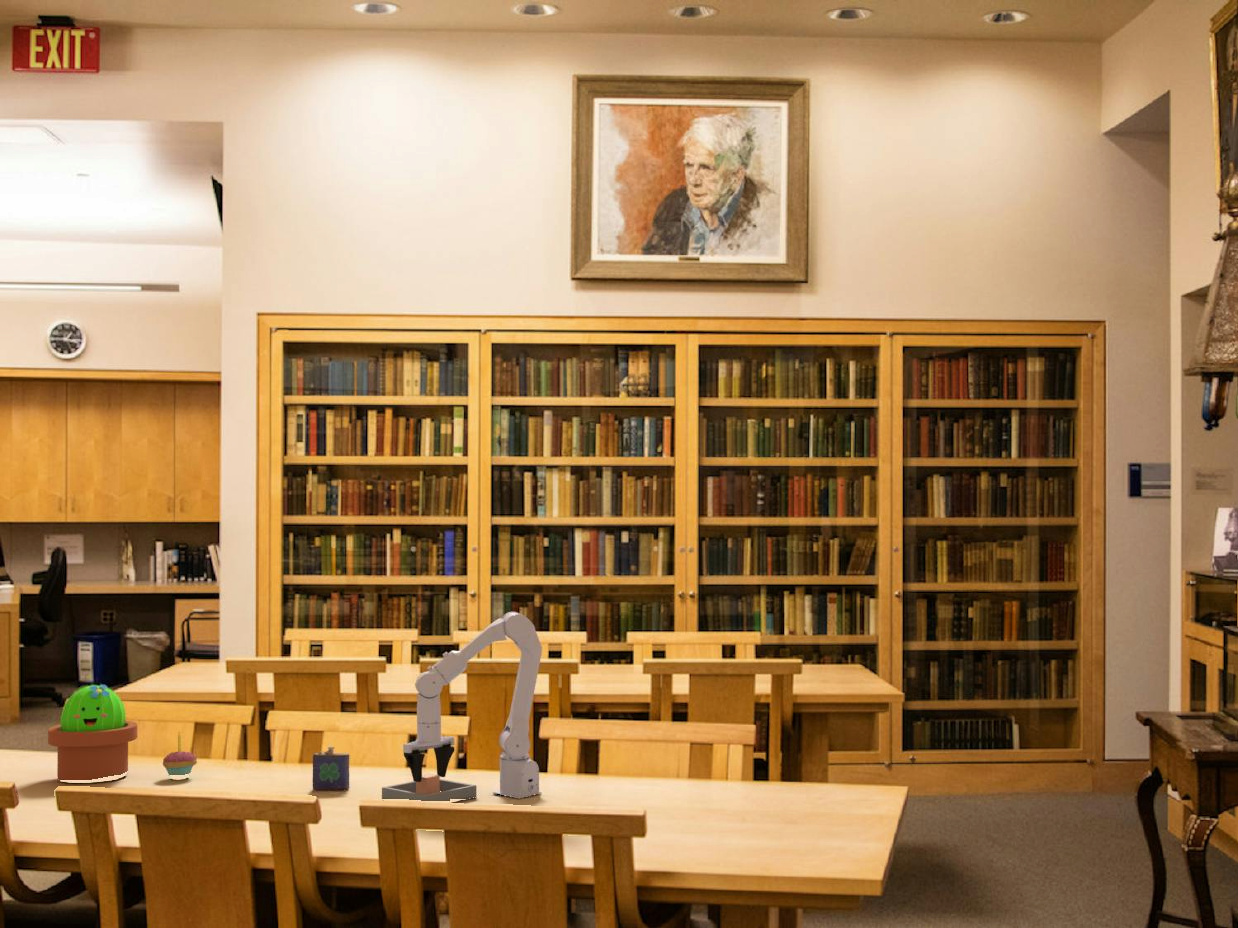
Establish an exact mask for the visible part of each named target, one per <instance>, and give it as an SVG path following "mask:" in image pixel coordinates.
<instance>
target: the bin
mask: <svg viewBox="0 0 1238 928" xmlns="http://www.w3.org/2000/svg"><path fill="white" fill-rule="evenodd" d="M440 791H441V792H437V793H432V794H427V795H425V794H420V793H416V782H415V781H407V782H403V783H398V784H393V785H387V786H382V787H381V800H382V799H409V800H421V801H450V799H469V798H473V797H476V798H477V785H476V784H472V783H465V782H460V781H455V780H447V779H442V778H440ZM469 800H470V799H469Z"/></svg>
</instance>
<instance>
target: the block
mask: <svg viewBox="0 0 1238 928" xmlns="http://www.w3.org/2000/svg"><path fill="white" fill-rule="evenodd" d="M440 779H441V777H440V775H437V774H433V773H425V774H424V773H423V774H422V780H421V782H416V793H420V794H425V795H427V794H432V793H437V792H440Z"/></svg>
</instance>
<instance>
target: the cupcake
mask: <svg viewBox="0 0 1238 928" xmlns="http://www.w3.org/2000/svg"><path fill="white" fill-rule="evenodd" d="M180 733H181V732H180V731H178V735H177V751H175V752H173V751H172V752H171V753H168V754H167V755H166V756H165V757H164V758H163V759H162V760H163V762H162V766H163V767H164V768H165V770H166V773H167V774H169V775H185V774H189V773H190V774H191V772H192V769H193V767H194V766H195V765H197V763H198V761H197V760H198V759H197V758H198V757H196V756H195V755H194V754H193V753H192V752H189V751H182V743H181V742H182V741H181V738H182V737H181V735H182V734H180ZM169 775H168V776H169Z"/></svg>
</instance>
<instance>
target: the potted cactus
mask: <svg viewBox="0 0 1238 928" xmlns="http://www.w3.org/2000/svg"><path fill="white" fill-rule="evenodd" d="M61 709H62V712H61V715H60V722H59V724H57V725H53V726H51V727H49V728H48V730H47V744H48V745H49V746H53V747H57V770H56V771H57V777H58V778H57V780H58V779H59V780H92V779H98V778H103V777H108V776H114V775H121V774H123V773H125V772H127V771H128V772H129V743H130V742H132V741H134V740H136V739H137V738H138V723H137V721H136V722H135V721H132V720H127V719H126V714H128V712H126V710H127V709H125V706H124V703H123V702H122V700H121V698H120V696H119V695H118V693H116V692H115V691H114V690H113V689H112V688H109V687H108V685H106V684H100V685H97V684H90V685H88V684H86V685H82V686H80V687H78V689H77V690H75V691H73V693H72V695H70V697H69V698H68V699H67V701H65V704H64V705H63V707H61ZM59 780H58V781H59Z"/></svg>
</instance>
